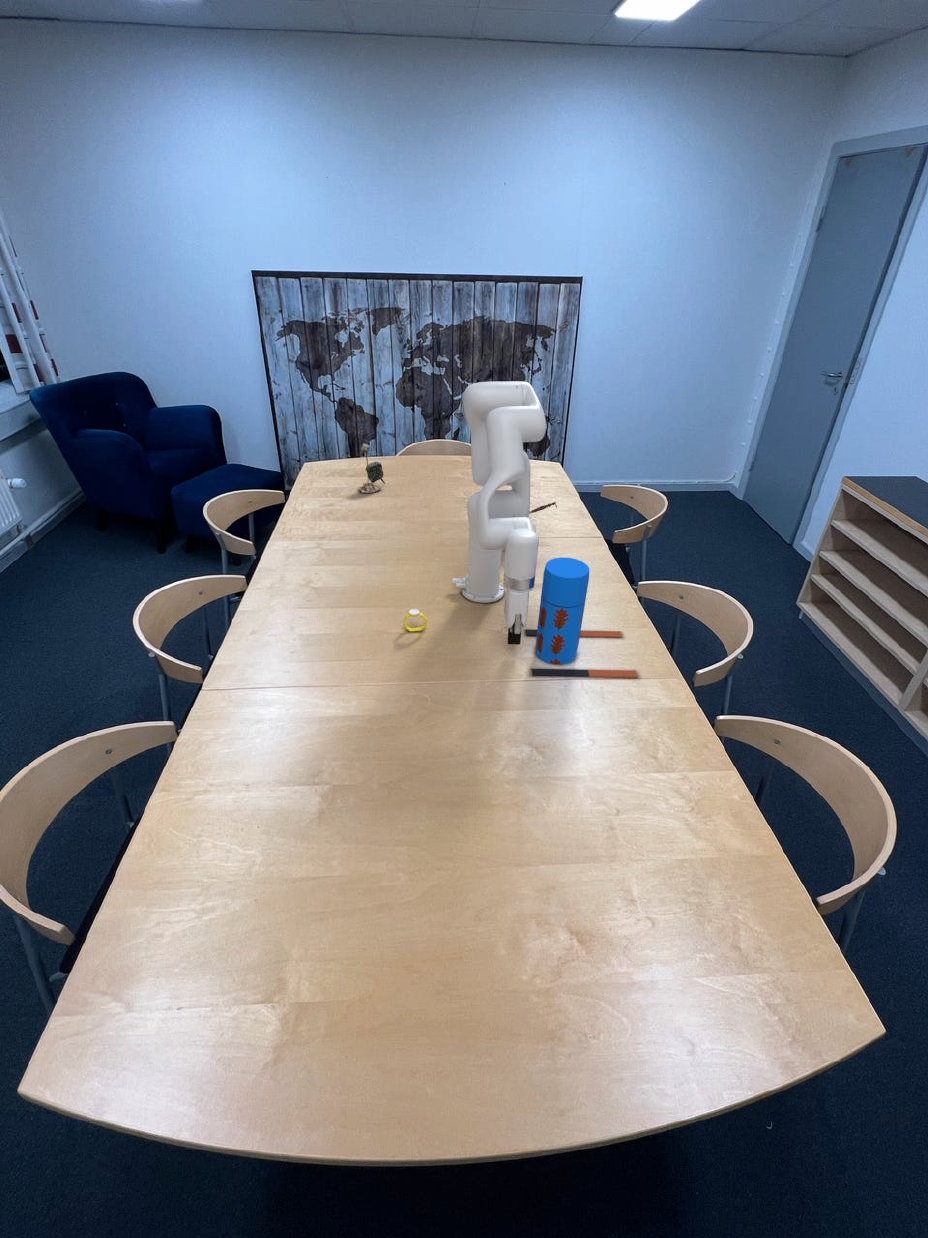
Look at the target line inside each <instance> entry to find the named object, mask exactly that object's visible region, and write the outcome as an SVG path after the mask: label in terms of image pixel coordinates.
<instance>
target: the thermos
mask: <svg viewBox="0 0 928 1238" xmlns="http://www.w3.org/2000/svg"><path fill="white" fill-rule="evenodd" d="M543 570H544V571H543V575H542V586H541V594H540V603H539V611H538V620H537V629H536V630H537V636H535V637H536V638H535V654H536V656H537V658H538V659H539V660H541V661H542V662H544V663H547V664H550V665H556V666H557V665H558V666H559V665H560V666H562V665H568V664H570V663H572V662H573V661H575V659H576V657H577V652H578V647H579V644H580V638H581V637H580V631H582V625H583V618H584V612H585V606H586V600H587V595H588V594H587V593H588V588H589V580H590V567H589V566H588V564H587V563H585V562H584V561H583V560H580V559H577V558H572V557H563V556H561V557H554V558H551V559H549V560H548V561H546V563H545V566H544V569H543Z"/></svg>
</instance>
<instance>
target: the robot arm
mask: <svg viewBox="0 0 928 1238" xmlns="http://www.w3.org/2000/svg"><path fill="white" fill-rule="evenodd" d="M462 403H463V404H462V405H463V409H464V410H463V412H464V415H465V418H466V421H467V425H468V428H469V433H470V456H471V457H470V460H471V461H470V462H471V463H470V464H471V466H470V467H471V477H472V481H473V483H474V484H476V485H477V486H480V487H482V488H481V489H480V491H477V492H474V493H472V494H471V495H470V496H469V497H468V498H467V502H466V511H467V512H466V513H467V514H466V515H467V522H468V556H467V574H466V575H465V577H462V578H457V577H456V578H455V577H453V578H451V579H452V580H451V581H452V582H451V585H452V586H455V588H456V589H461V593H462V595H463V597H465V598H466V599H467V600H469V601H472V602H474V603H481V604H486V603H493V602H494V603H495V602H497V601H499V600H501V599H502V598H503V597H504V606H503V614H504V615H503V616H504V624H505V627H506V628H507V629H508V630H507V640H506V641H507V644H508V645H521V640H522V628H523V629H524V628H525V627H526V626H527V620H528V610H529V609H528V608H529V601H530V600H529V598H530V592H531V591H533V589H535V582H536V573H537V572H536V571H537V563H538V553H539V542H540V537H539V535H538V533H537V529H536V524H535V523H534V521H533V520H532V519H531V518H529V516H530V514H529V512H530V511H531V475H532V474H531V461H530V458H529V455H528V453H527V452H526V451H524V443H537V442H540V441H542V440H543V439H544V438H545V434H546V431H547V420H546V415H545V411H544V409H543V406H542V404H541V401H540V399H539V397H538V395H537V393H536V391H535V389H534V387H533V386H532V385H531V383H529V382H528V381H521V380H520V381H519V380H514V381H511V380H510V381H509V380H508V381H500V380H499V381H497V380H496V381H495V380H494V381H479V382H475V383H471V384H469V385H468V386H466V387H465V389H464V392H463V396H462ZM504 486H511V489H502V490H501V489H500V488H502V487H504ZM503 550H505V552H504V553H505V554H504V555H505V556H504V566H503V567H504V568H503V582H502V584H500V579H501V563H502V552H503ZM504 588H505V589H504ZM504 595H505V596H504Z"/></svg>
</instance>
